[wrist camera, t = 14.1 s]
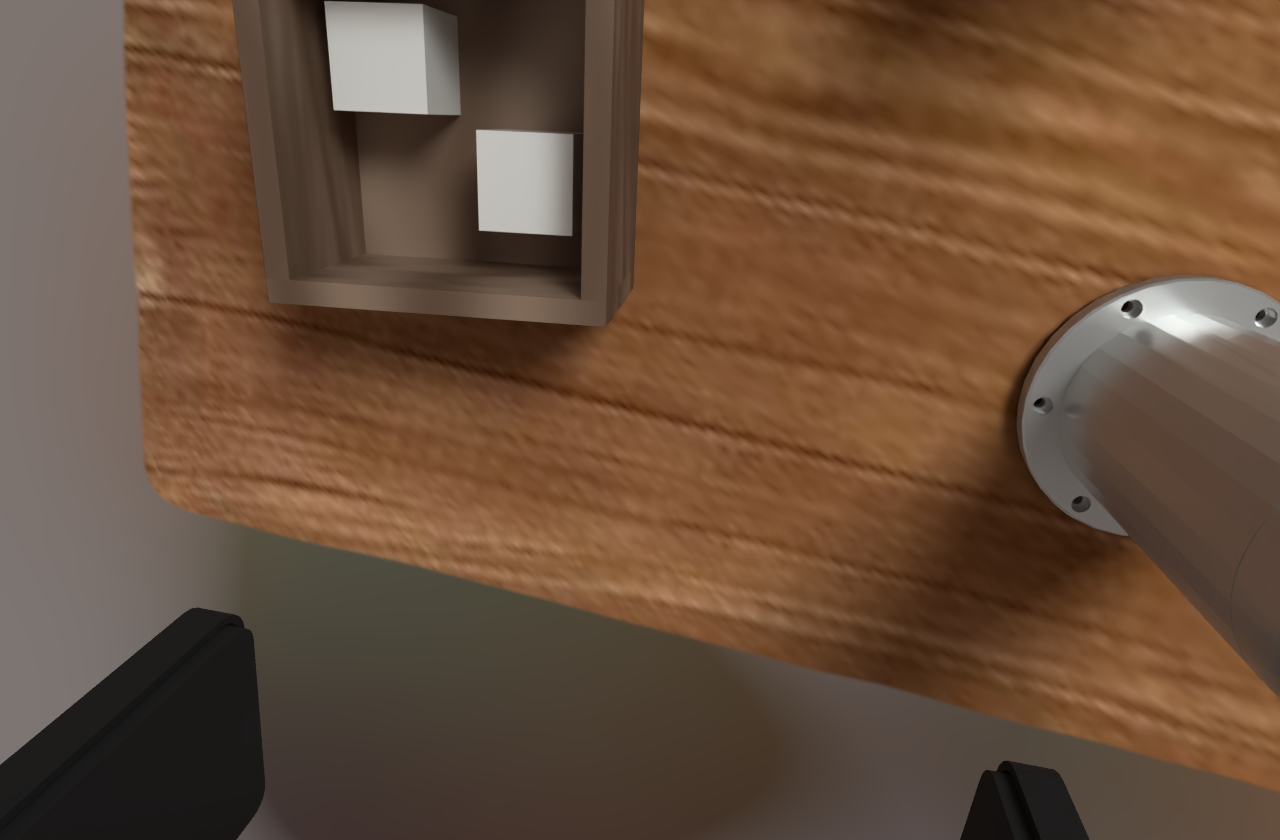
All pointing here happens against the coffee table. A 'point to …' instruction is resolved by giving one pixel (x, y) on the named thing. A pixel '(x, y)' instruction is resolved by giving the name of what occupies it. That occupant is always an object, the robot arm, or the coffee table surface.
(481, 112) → the box
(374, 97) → the cube
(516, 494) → the coffee table surface
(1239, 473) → the robot arm
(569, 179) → the cube
